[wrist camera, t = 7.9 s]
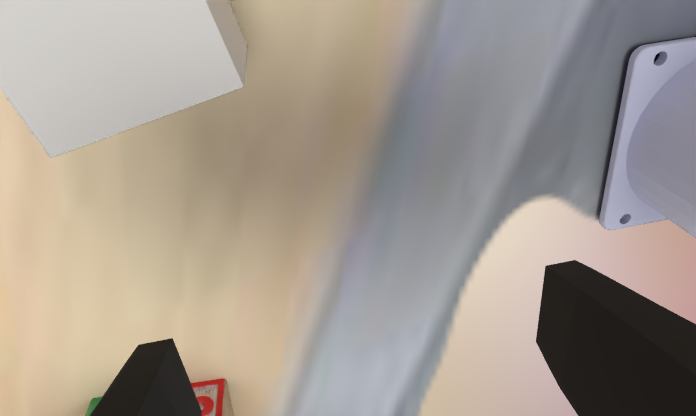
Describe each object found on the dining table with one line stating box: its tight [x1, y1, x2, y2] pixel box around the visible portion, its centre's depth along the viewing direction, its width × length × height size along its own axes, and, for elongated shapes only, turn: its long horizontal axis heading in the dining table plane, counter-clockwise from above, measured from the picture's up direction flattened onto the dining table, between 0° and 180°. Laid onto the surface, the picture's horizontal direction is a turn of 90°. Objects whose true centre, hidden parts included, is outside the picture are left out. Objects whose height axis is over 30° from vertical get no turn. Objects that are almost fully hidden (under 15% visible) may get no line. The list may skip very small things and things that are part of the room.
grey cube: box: [0, 0, 247, 158], centre depth 12 cm, size 5×5×5 cm
